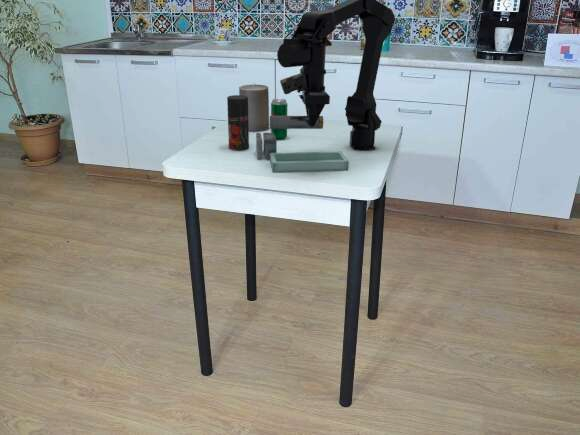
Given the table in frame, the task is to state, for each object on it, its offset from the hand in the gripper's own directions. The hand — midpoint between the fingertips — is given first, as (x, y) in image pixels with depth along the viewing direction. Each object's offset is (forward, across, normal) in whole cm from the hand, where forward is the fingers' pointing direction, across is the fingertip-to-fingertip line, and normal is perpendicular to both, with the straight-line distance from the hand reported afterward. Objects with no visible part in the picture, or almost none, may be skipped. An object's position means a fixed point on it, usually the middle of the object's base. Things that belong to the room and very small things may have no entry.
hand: (311, 124), depth 147 cm
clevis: (+11, -7, -11) cm, 17 cm away
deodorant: (+11, -15, -19) cm, 27 cm away
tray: (+10, +3, -1) cm, 11 cm away
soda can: (+10, -25, -6) cm, 28 cm away
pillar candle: (+10, -38, -14) cm, 42 cm away
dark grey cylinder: (+1, 0, -4) cm, 4 cm away
